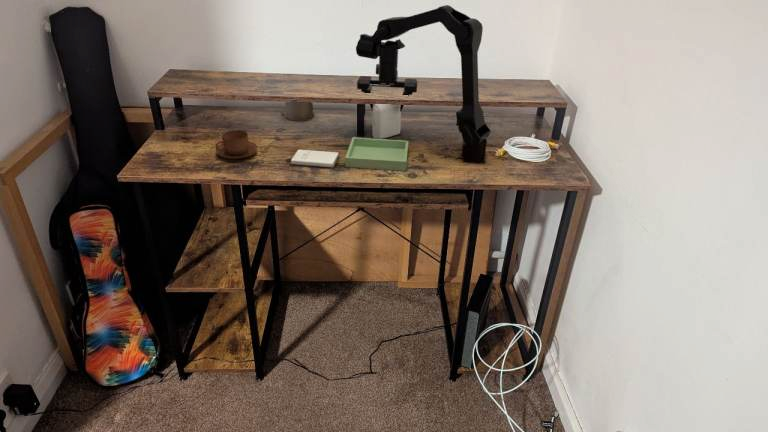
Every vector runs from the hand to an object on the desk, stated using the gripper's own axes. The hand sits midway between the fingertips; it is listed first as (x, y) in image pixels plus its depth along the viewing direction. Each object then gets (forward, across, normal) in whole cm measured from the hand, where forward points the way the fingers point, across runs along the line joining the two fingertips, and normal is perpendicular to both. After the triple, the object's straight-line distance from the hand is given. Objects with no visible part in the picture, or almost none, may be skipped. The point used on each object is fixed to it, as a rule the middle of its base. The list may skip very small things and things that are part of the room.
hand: (386, 110), depth 166 cm
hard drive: (+9, +19, +23) cm, 31 cm away
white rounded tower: (+9, 0, 0) cm, 9 cm away
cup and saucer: (+9, +43, +22) cm, 49 cm away
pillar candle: (+9, +32, -13) cm, 36 cm away
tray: (+9, +1, +18) cm, 20 cm away
